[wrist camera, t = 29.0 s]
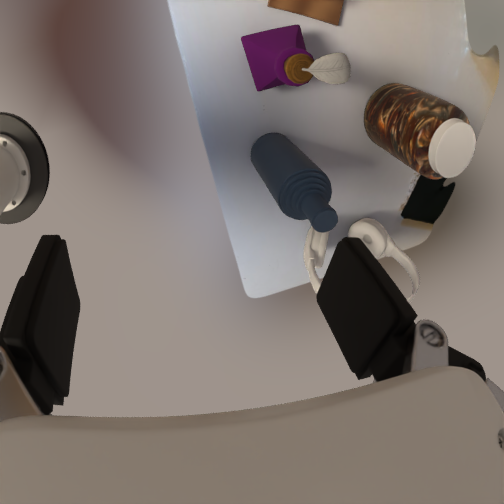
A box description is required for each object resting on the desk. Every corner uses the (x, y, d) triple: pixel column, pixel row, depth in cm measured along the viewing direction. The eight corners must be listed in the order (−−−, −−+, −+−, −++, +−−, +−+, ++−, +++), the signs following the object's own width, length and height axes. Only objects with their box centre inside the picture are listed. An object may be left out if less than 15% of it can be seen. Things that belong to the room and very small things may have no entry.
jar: (398, 157, 49) (454, 200, 37) (351, 130, 44) (411, 170, 32) (427, 103, 43) (491, 135, 31) (384, 68, 38) (454, 91, 26)
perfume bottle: (251, 88, 37) (302, 121, 23) (235, 37, 32) (280, 34, 18) (303, 74, 37) (378, 102, 23) (290, 24, 32) (365, 22, 18)
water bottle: (246, 171, 44) (288, 248, 30) (254, 130, 41) (305, 189, 27) (287, 174, 46) (342, 248, 32) (297, 135, 43) (363, 195, 29)
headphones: (289, 218, 51) (341, 306, 36) (379, 209, 55) (444, 280, 40) (286, 251, 56) (330, 340, 41) (371, 239, 59) (427, 311, 44)
